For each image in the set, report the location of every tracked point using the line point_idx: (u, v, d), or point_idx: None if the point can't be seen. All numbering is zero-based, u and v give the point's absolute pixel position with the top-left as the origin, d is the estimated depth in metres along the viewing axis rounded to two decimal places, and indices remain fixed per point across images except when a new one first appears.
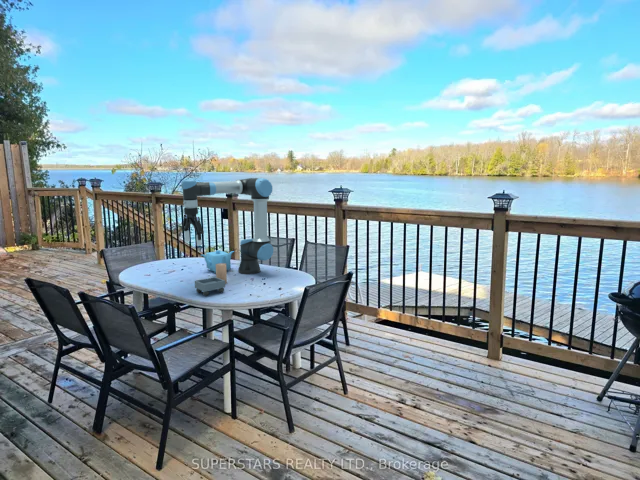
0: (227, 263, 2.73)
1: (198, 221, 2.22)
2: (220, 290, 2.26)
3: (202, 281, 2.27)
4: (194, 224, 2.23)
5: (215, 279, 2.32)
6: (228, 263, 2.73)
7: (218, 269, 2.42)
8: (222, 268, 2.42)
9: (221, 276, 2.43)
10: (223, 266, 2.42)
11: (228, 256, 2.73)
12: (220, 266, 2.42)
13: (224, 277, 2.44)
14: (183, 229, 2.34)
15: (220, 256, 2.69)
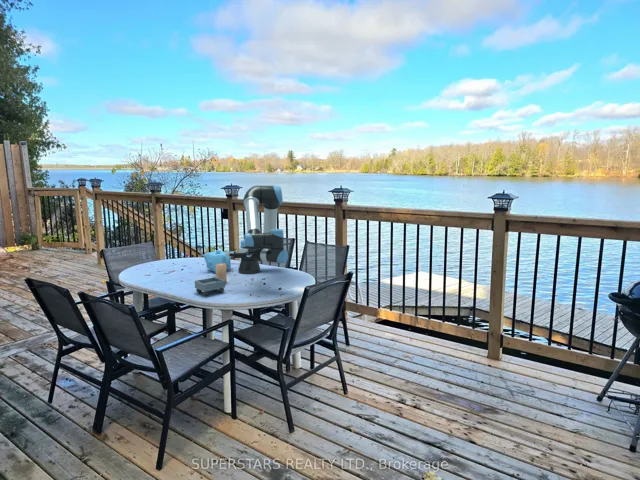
0: (227, 263, 2.73)
1: None
2: (220, 290, 2.26)
3: (202, 281, 2.27)
4: None
5: (215, 279, 2.32)
6: (228, 263, 2.73)
7: (218, 269, 2.42)
8: (222, 268, 2.42)
9: (221, 276, 2.43)
10: (223, 266, 2.42)
11: None
12: (220, 266, 2.42)
13: (224, 277, 2.44)
14: None
15: (220, 256, 2.69)
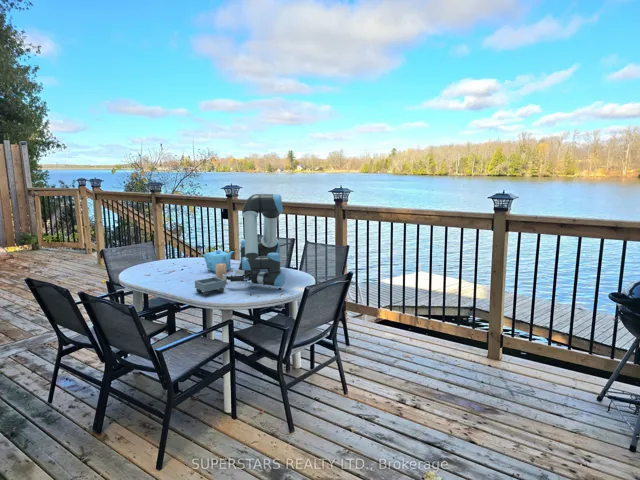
0: (227, 263, 2.73)
1: None
2: (220, 290, 2.26)
3: (202, 281, 2.27)
4: None
5: (215, 279, 2.32)
6: (228, 263, 2.73)
7: (218, 269, 2.42)
8: (222, 268, 2.42)
9: (221, 276, 2.43)
10: (223, 266, 2.42)
11: (228, 256, 2.73)
12: (220, 266, 2.42)
13: None
14: None
15: (220, 256, 2.69)
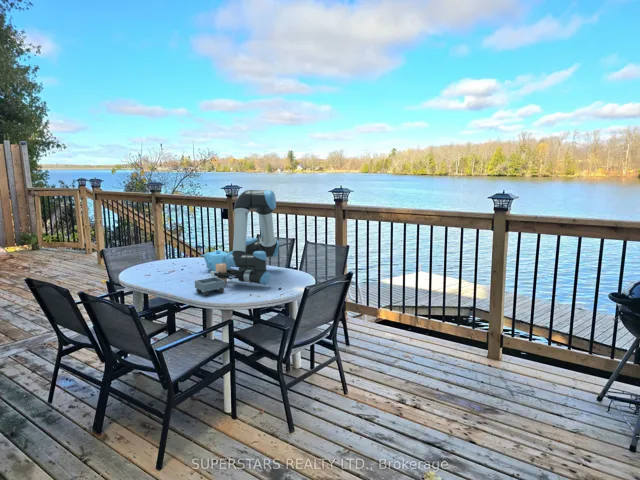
0: (227, 263, 2.73)
1: None
2: (220, 290, 2.26)
3: (202, 281, 2.27)
4: None
5: (215, 279, 2.32)
6: None
7: (218, 269, 2.42)
8: (222, 268, 2.42)
9: None
10: (223, 266, 2.42)
11: (228, 256, 2.73)
12: (220, 266, 2.42)
13: None
14: (218, 276, 2.39)
15: (220, 256, 2.69)
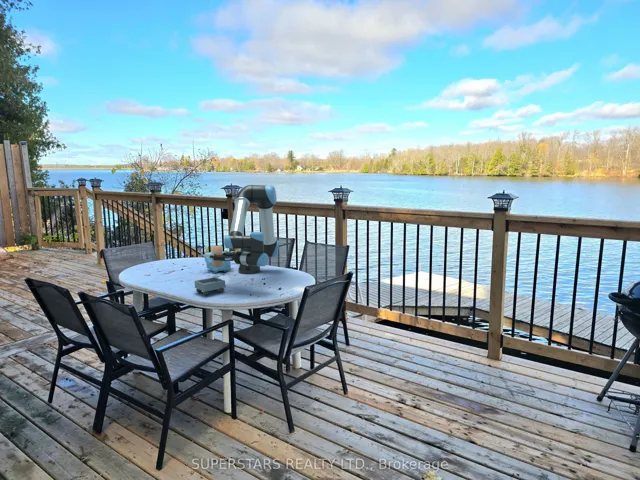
0: (227, 263, 2.73)
1: None
2: (220, 290, 2.26)
3: (202, 281, 2.27)
4: None
5: (215, 279, 2.32)
6: (228, 263, 2.73)
7: (214, 251, 2.33)
8: (218, 250, 2.33)
9: None
10: (219, 248, 2.33)
11: None
12: (216, 248, 2.32)
13: None
14: None
15: None
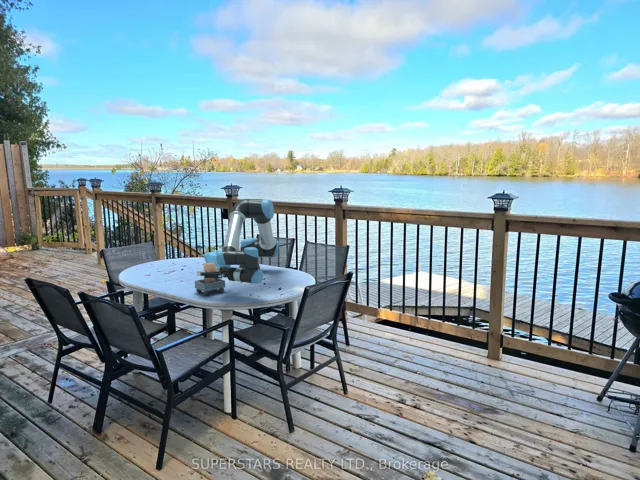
0: None
1: None
2: (220, 290, 2.26)
3: (202, 281, 2.27)
4: None
5: None
6: None
7: (206, 269, 2.21)
8: (210, 268, 2.21)
9: None
10: (211, 266, 2.21)
11: None
12: (208, 266, 2.21)
13: (213, 278, 2.23)
14: None
15: None
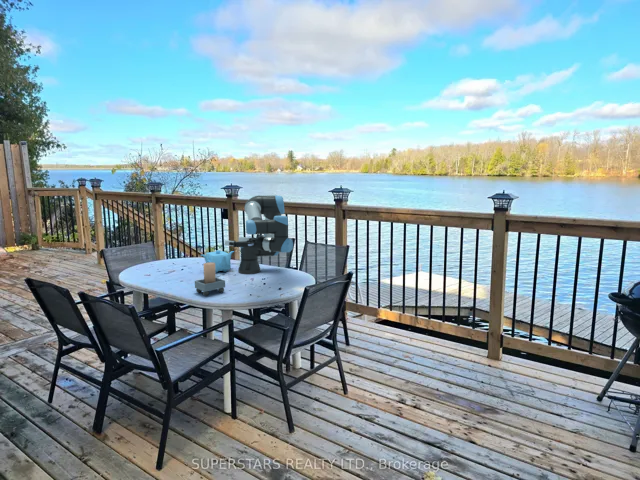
0: (227, 263, 2.73)
1: None
2: (220, 290, 2.26)
3: (202, 281, 2.27)
4: None
5: None
6: (228, 263, 2.73)
7: (206, 269, 2.21)
8: (210, 268, 2.21)
9: (209, 276, 2.22)
10: (211, 266, 2.21)
11: (228, 256, 2.73)
12: (208, 266, 2.21)
13: (213, 278, 2.23)
14: None
15: (220, 256, 2.69)
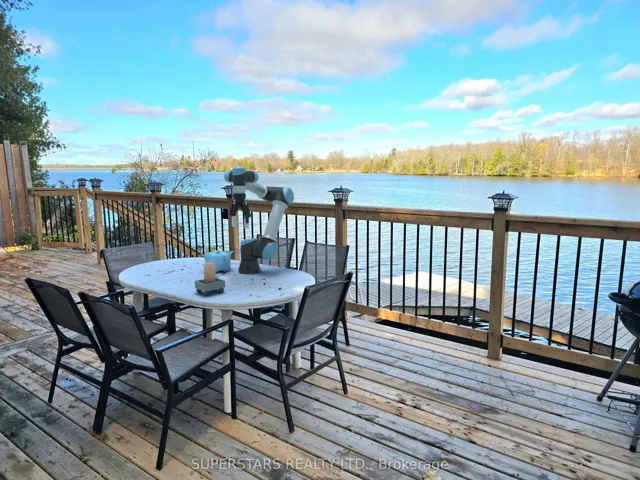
0: (227, 263, 2.73)
1: (246, 205, 2.36)
2: (220, 290, 2.26)
3: (202, 281, 2.27)
4: (242, 208, 2.37)
5: None
6: (228, 263, 2.73)
7: (206, 269, 2.21)
8: (210, 268, 2.21)
9: (209, 276, 2.22)
10: (211, 266, 2.21)
11: (228, 256, 2.73)
12: (208, 266, 2.21)
13: (213, 278, 2.23)
14: (230, 214, 2.48)
15: (220, 256, 2.69)
